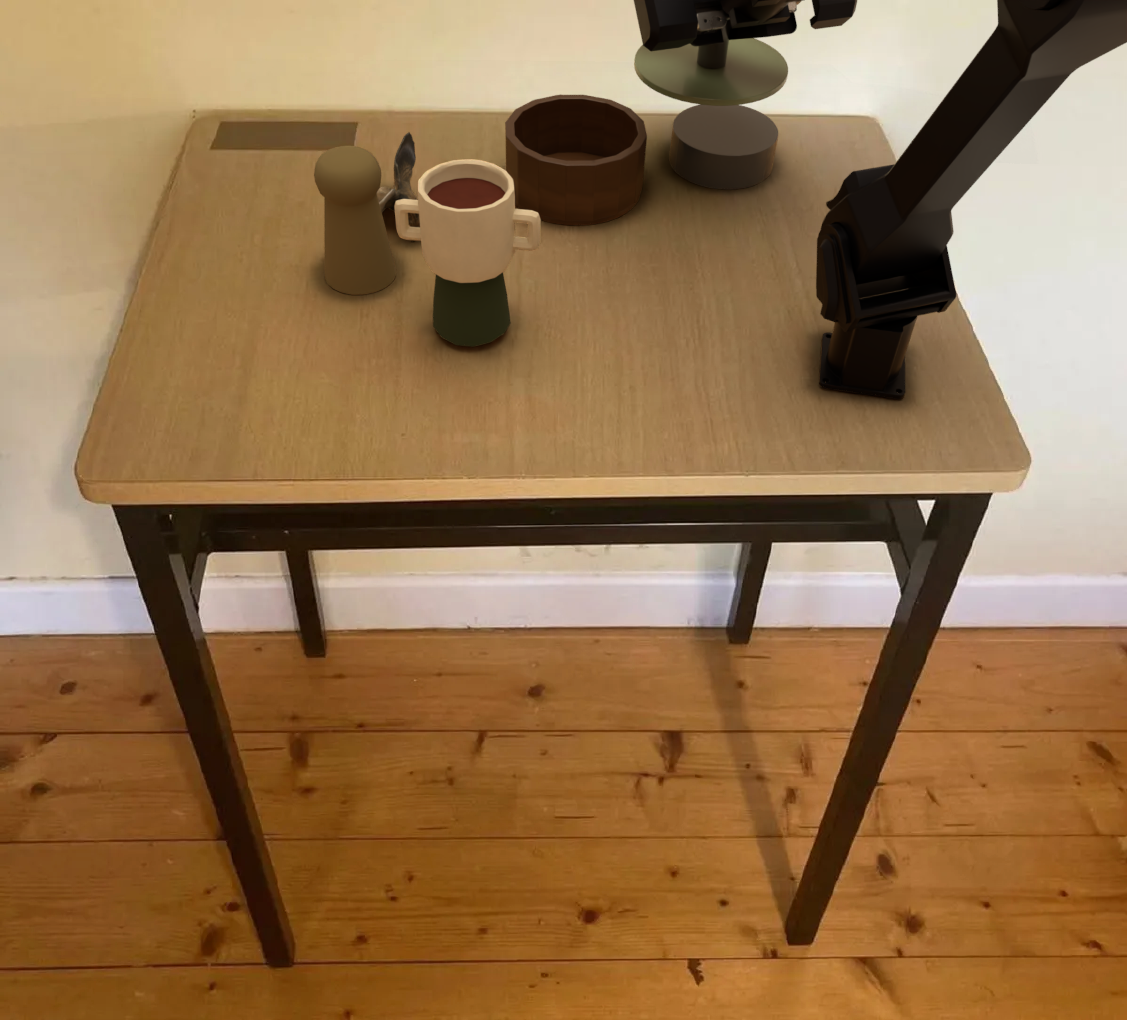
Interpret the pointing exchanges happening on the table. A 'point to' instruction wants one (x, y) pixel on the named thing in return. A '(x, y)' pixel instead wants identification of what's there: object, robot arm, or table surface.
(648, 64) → the lid
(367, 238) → the brown pawn
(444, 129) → the table surface
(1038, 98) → the robot arm
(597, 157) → the brown round pot
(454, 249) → the character mug
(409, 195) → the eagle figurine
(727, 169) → the disc
